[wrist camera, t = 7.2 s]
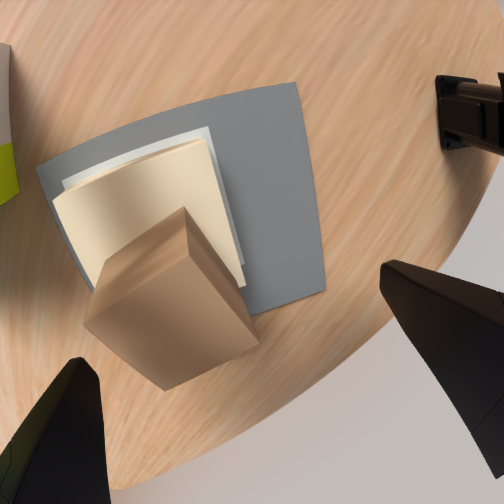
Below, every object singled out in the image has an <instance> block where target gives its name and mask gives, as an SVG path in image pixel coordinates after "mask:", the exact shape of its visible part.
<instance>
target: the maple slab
mask: <svg viewBox="0 0 504 504" xmlns="http://www.w3.org/2000/svg"><path fill="white" fill-rule="evenodd" d="M53 204H54V206H55V209H56V211H57V213H58V216H59V218H60V220H61V223H62V225H63V227H64V229H65V232H66V234H67V236H68V238H69V240H70V242H71V244H72V246H73V248H74V250H75V252H76V254H77V256H78V258H79V260H80V262H81V264H82V266H83V268H84V270H85V272H86V274H87V276H88V277H89V279H90V281H91V283H92V285H93V286H94V288H95V286H96V284H97V281H98V278H99V275H100V273H101V270H102V267H103V265H104V262H105V260H107V259H108V258H109V257H111V256H112V255H114V254H115V253H116V252H118V251H119V250H120V249H122V248H123V247H125V246H126V245H127V244H129V243H130V242H132V241H133V240H134V239H136V238H137V237H139V236H140V235H141V234H143V233H144V232H146V231H147V230H149V229H150V228H152V227H153V226H155V225H156V224H157V223H159V222H160V221H162V220H163V219H165V218H166V217H168V216H169V215H171V214H172V213H174V212H175V211H177V210H178V209H180V208H182V207H183V206H184V207H185V208H186V210H187V211H188V212H189V214H190V215H191V217H192V218H193V220H194V221H195V223H196V224H197V225H198V227H199V228H200V230H201V231H202V233H203V234H204V235H205V237H206V238H207V240H208V241H209V243H210V244H211V245H212V247H213V248H214V250H215V251H216V252H217V254H218V255H219V257H220V258H221V259H222V261H223V262H224V264H225V265H226V266H227V268H228V269H229V271H230V272H231V273H232V275H233V276H234V278H235V279H236V281H237V284H238V287H239V288H240V287H243V286H246V283H245V279H244V276H243V272H242V269H241V265H240V261H239V258H238V254H237V251H236V247H235V244H234V240H233V237H232V233H231V229H230V226H229V222H228V219H227V215H226V211H225V208H224V204H223V201H222V197H221V193H220V190H219V186H218V182H217V179H216V175H215V171H214V168H213V164H212V160H211V156H210V153H209V149H208V145H207V142H206V141H205V140H204V139H203V138H202V137H200V138H197V139H193V140H190V141H187V142H183V143H180V144H177V145H174V146H171V147H168V148H165V149H162V150H159V151H156V152H153V153H150V154H147V155H144V156H142V157H139V158H136V159H133V160H131V161H128V162H125V163H123V164H120V165H118V166H115V167H113V168H110V169H108V170H105V171H103V172H100V173H98V174H96V175H93V176H91V177H89V178H86V179H84V180H82V181H80V182H78V183H75V184H73V185H71V186H70V187H69V188H67V189H66V190H65V191H64V192H62V193H61V194H60V195H59V196H57V197H56V198H55V199H54V200H53Z"/></svg>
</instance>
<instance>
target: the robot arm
mask: <svg viewBox="0 0 504 504" xmlns="http://www.w3.org/2000/svg"><path fill="white" fill-rule="evenodd" d="M497 73H498V78H499V80H500V85H501V87H499V86H493V85H486V84H479V83H478V82H477V80H475V79H469V78H462V77H454V76H445V75H437V76H436V85H437V93H438V102H439V113H440V127H441V146H442V148H443V149H445V150H453V149H458V148H464V147H470V146H473V147H477V148H480V149H483V150H486V151H489V152H492V153H495V154H498V155H500V156H503V157H504V72H497ZM380 291H381V293H382V295H383V297H384V299H385V300H386V302H387V304H388V305H389V307H390V309H391V310H392V312H393V314H394V315H395V317H396V319H397V321H398V322H399V324H400V326H401V327H402V329H403V331H404V332H405V334H406V335H407V337H408V338H409V340H410V341H411V342H412V344H413V345H414V347H415V348H416V349H417V351H418V352H419V354H420V355H421V357H422V358H423V359H424V361H425V362H426V364H427V365H428V367H429V368H430V369H431V371H432V373H433V374H434V376H435V377H436V379H437V380H438V382H439V383H440V385H441V386H442V388H443V389H444V391H445V392H446V394H447V395H448V397H449V399H450V400H451V402H452V403H453V405H454V407H455V408H456V410H457V411H458V413H459V415H460V416H461V418H462V419H463V421H464V423H465V425H466V426H467V428H468V430H469V431H470V432H471V435H472V437H473V439H474V440H475V442H476V444H477V446H478V447H479V449H480V451H481V453H482V455H483V457H484V458H485V460H486V462H487V464H488V466H489V468H490V470H491V472H492V474H493V475H494V477H495V478H496V479H497V478H499V477H501V476H502V475H504V293H501V292H499V291H498V292H497V291H496V290H493V289H490V288H486V287H483V286H480V285H477V284H474V283H471V282H467V281H464V280H461V279H458V278H455V277H451V276H448V275H445V274H442V273H438V272H435V271H432V270H429V269H425V268H422V267H419V266H415V265H412V264H408V263H405V262H401V261H398V260H394V259H393V260H390V261H387V262H385V263H383V264H382V265H381V268H380ZM0 504H111V499H110V493H109V484H108V475H107V465H106V452H105V435H104V421H103V412H102V403H101V393H100V382H99V378H98V375H97V374H96V372H95V371H94V370H93V369H92V368H91V366H90V365H89V364H88V363H87V362H86V360H85V359H84V358H82V357H77V358H72V359H70V360H69V361H68V362H67V364H66V365H65V366H64V367H63V369H62V370H61V371H60V372H59V374H58V375H57V376H56V378H55V379H54V380H53V382H52V383H51V384H50V385H49V387H48V388H47V389H46V391H45V392H44V393H43V395H42V396H41V397H40V399H39V400H38V402H37V403H36V404H35V406H34V407H33V408H32V410H31V411H30V413H29V414H28V415H27V417H26V418H25V420H24V421H23V422H22V424H21V425H20V427H19V428H18V430H17V431H16V433H15V434H14V436H13V437H12V439H11V441H9V443H8V445H7V446H6V448H5V449H4V451H3V452H2V454H1V455H0Z"/></svg>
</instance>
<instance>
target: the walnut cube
mask: <svg viewBox="0 0 504 504" xmlns="http://www.w3.org/2000/svg"><path fill="white" fill-rule="evenodd" d="M83 326H85V327H86V328H87V329H88V330H89V331H90V332H91V333H92V334H93V335H94V336H96V337H97V338H98V339H99V340H100V341H101V342H102V343H103V344H105V345H106V346H107V347H108V348H109V349H110V350H112V351H113V352H114V353H115V354H116V355H118V356H119V357H120V358H121V359H123V360H124V361H125V362H126V363H128V364H129V365H130V366H131V367H133V368H134V369H135V370H136V371H138V372H139V373H140V374H142V375H143V376H144V377H146V378H147V379H148V380H150V381H151V382H153V383H154V384H155V385H157V386H158V387H159V388H161V389H162V390H164V391H167V390H169V389H171V388H174V387H176V386H178V385H180V384H182V383H184V382H186V381H188V380H191V379H193V378H195V377H197V376H199V375H201V374H203V373H205V372H207V371H209V370H211V369H213V368H215V367H217V366H219V365H221V364H223V363H224V362H226V361H228V360H230V359H232V358H234V357H236V356H238V355H240V354H242V353H243V352H245V351H247V350H249V349H251V348H253V347H254V346H256V345H258V344H260V342H259V339H258V337H257V334H256V332H255V329H254V326H253V324H252V321H251V318H250V316H249V313H248V311H247V308H246V305H245V303H244V300H243V297H242V295H241V292H240V289H239V287H238V284H237V281H236V279H235V278H234V276H233V275H232V273H231V272H230V271H229V269H228V268H227V266H226V265H225V264H224V262H223V261H222V259H221V258H220V257H219V255H218V254H217V252H216V251H215V250H214V248H213V247H212V245H211V244H210V243H209V241H208V240H207V238H206V237H205V235H204V234H203V233H202V231H201V230H200V228H199V227H198V225H197V224H196V223H195V221H194V220H193V218H192V217H191V215H190V214H189V212H188V211H187V210H186V208H185V207H184V206H183V207H182V208H180V209H178V210H177V211H175V212H174V213H172V214H171V215H169V216H168V217H166V218H165V219H163V220H162V221H160V222H159V223H157V224H156V225H155V226H153V227H152V228H150V229H149V230H147V231H146V232H144V233H143V234H141V235H140V236H139V237H137V238H136V239H134V240H133V241H132V242H130V243H129V244H127V245H126V246H125V247H123V248H122V249H120V250H119V251H118V252H116V253H115V254H114V255H112V256H111V257H109V258H108V259H107V260H105V262H104V265H103V267H102V270H101V273H100V275H99V278H98V281H97V284H96V286H95V289H94V292H93V295H92V298H91V301H90V304H89V307H88V310H87V313H86V316H85V319H84V322H83Z"/></svg>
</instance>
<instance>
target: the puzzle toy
mask: <svg viewBox="0 0 504 504" xmlns="http://www.w3.org/2000/svg"><path fill="white" fill-rule="evenodd" d="M10 46H11V45H7V44H4V43H0V205H2V204H3V203H5V202H6V201H8V200H9V199H10V198H12V197H13V196H15V195H16V194H18V193H19V192H20V190H19V185H18V179H17V174H16V168H15V161H14V154H13V147H12V138H11V127H10V112H9V60H10Z"/></svg>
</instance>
